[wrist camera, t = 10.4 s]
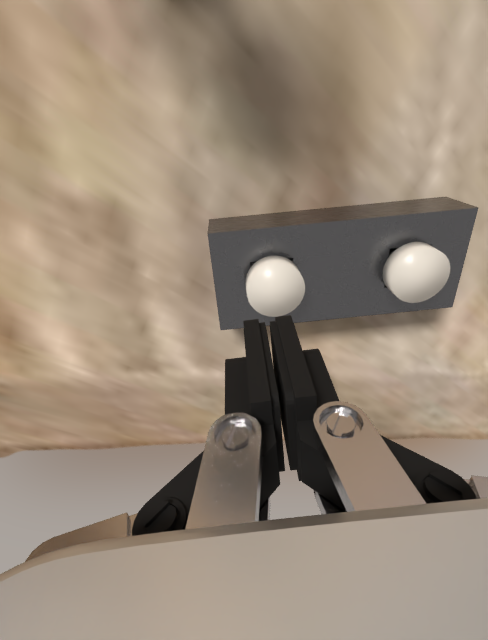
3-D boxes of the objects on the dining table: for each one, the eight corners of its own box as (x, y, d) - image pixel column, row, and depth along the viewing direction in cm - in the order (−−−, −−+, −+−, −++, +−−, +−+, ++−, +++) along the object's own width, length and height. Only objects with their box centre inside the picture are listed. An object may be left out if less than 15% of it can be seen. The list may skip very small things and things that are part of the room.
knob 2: (419, 226, 34) (456, 245, 29) (411, 274, 37) (443, 300, 32) (368, 231, 34) (396, 251, 29) (363, 279, 37) (388, 305, 32)
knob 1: (292, 239, 34) (305, 260, 29) (292, 285, 37) (304, 313, 32) (240, 243, 34) (244, 266, 29) (244, 290, 37) (248, 319, 32)
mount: (445, 196, 34) (478, 207, 30) (426, 286, 39) (452, 307, 35) (209, 219, 34) (207, 233, 30) (220, 307, 39) (220, 330, 35)
